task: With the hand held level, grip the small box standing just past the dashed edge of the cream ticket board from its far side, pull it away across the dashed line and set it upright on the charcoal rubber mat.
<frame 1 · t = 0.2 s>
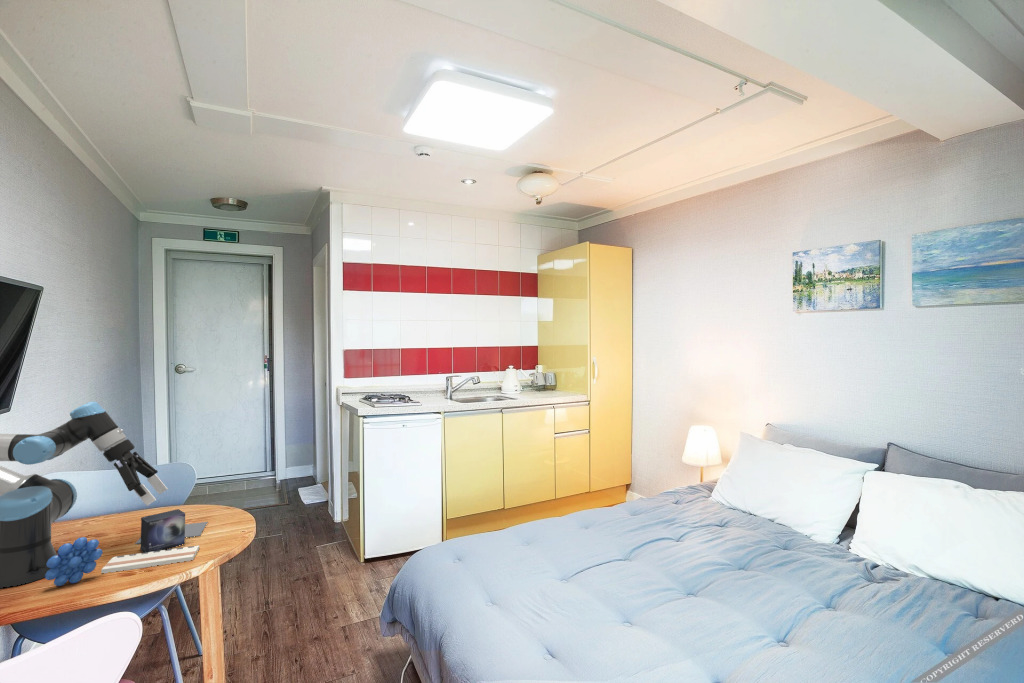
hand: (157, 497, 159), 15 cm above the table, tool tilted 35°, fingers open, 13 cm apart
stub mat: (173, 533, 167), on the table
small box: (162, 548, 155), on the table
blue bumpy cluster: (74, 582, 132), on the table
ticket board: (153, 560, 145), on the table
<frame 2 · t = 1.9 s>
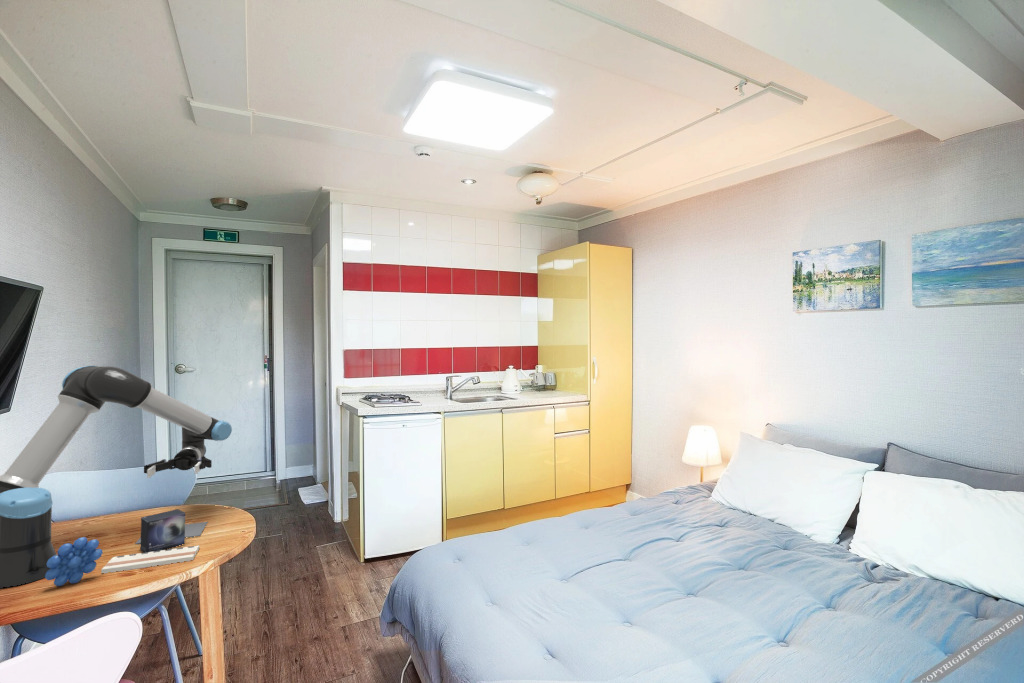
hand: (172, 471, 165), 22 cm above the table, tool horizontal, fingers open, 13 cm apart
nothing on the table moved.
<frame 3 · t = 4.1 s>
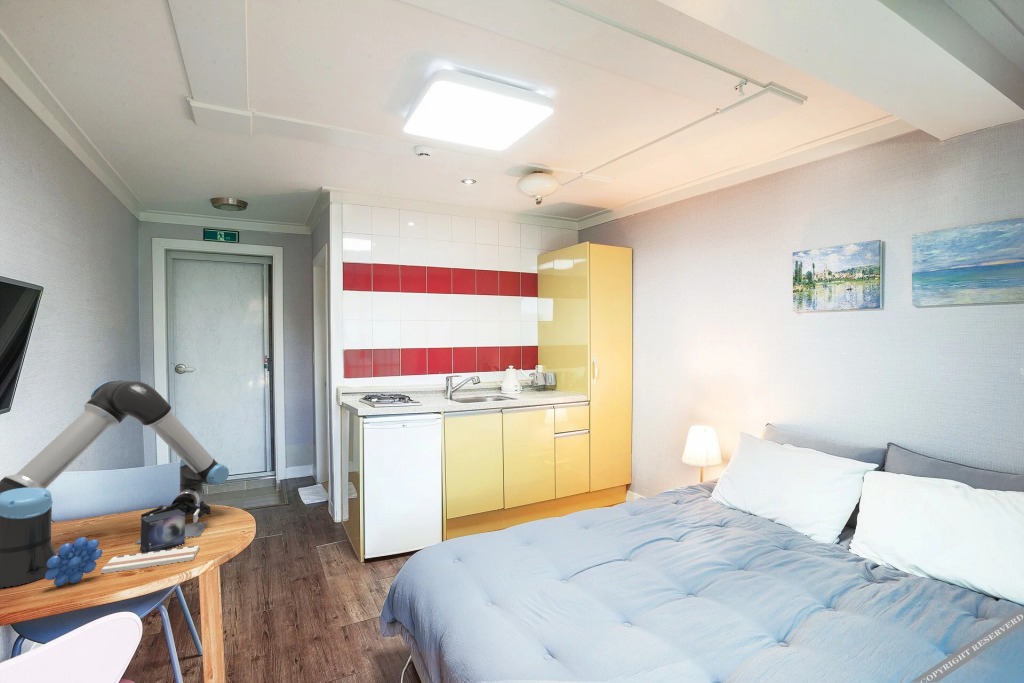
hand: (170, 521, 162), 6 cm above the table, tool horizontal, fingers open, 13 cm apart
nothing on the table moved.
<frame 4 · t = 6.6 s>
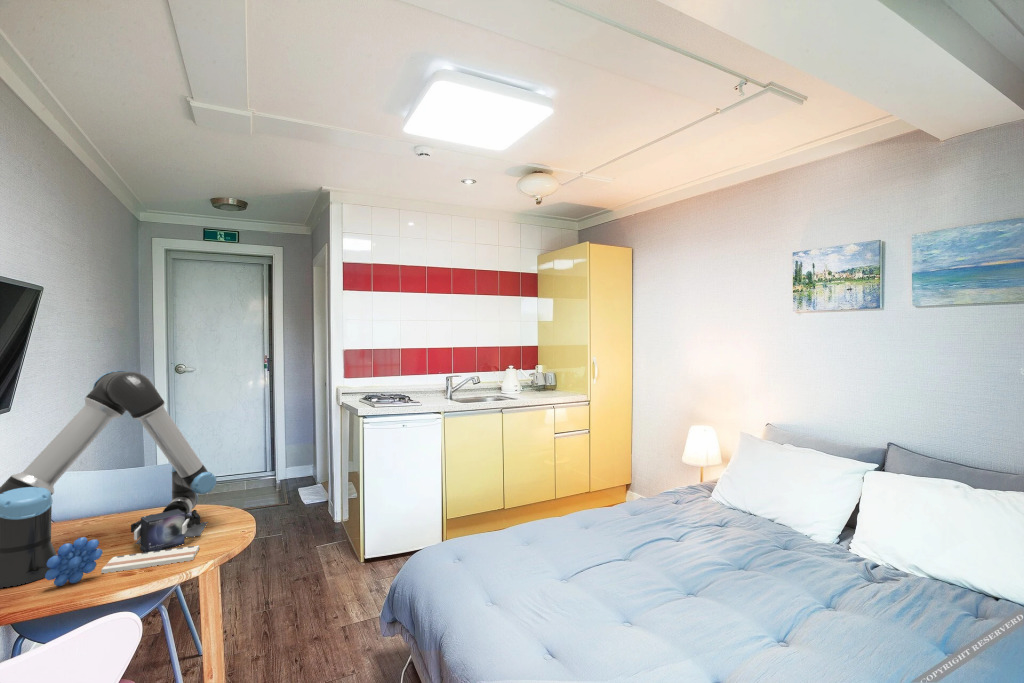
hand: (159, 532, 151), 6 cm above the table, tool horizontal, fingers closed on small box, 12 cm apart
small box: (162, 548, 155), on the table, touching gripper
everything else where it was.
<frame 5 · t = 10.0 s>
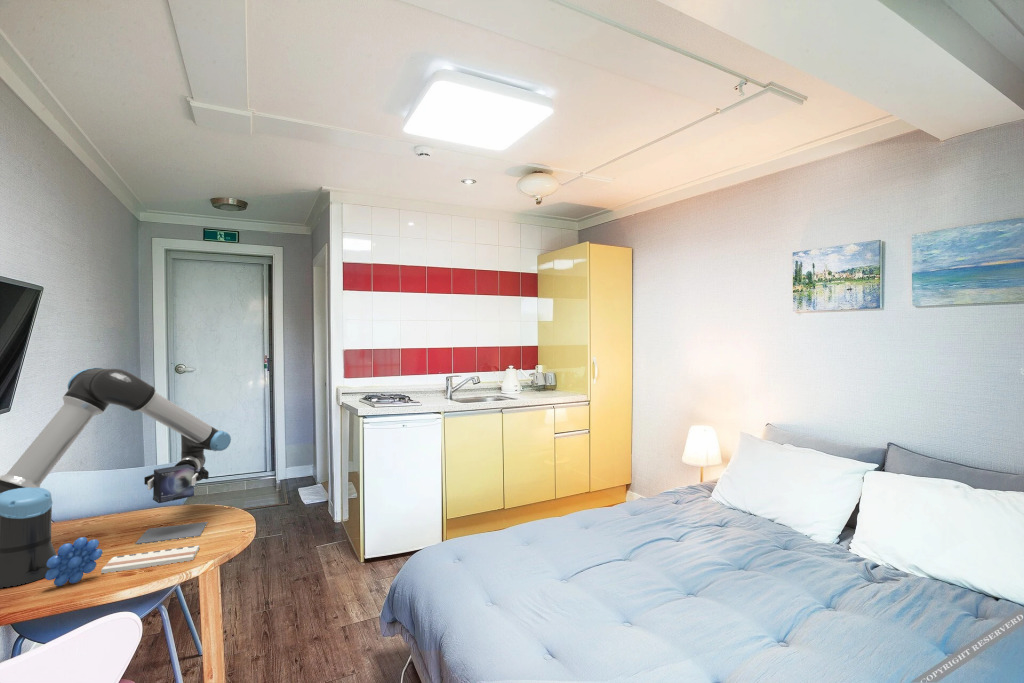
hand: (171, 483, 164), 18 cm above the table, tool horizontal, fingers closed on small box, 12 cm apart
small box: (173, 499, 167), point 12 cm above the table, touching gripper
everything else where it was.
when the fingers open (7 cm above the table, at t = 13.5 s): small box moves 1 cm, resting on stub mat.
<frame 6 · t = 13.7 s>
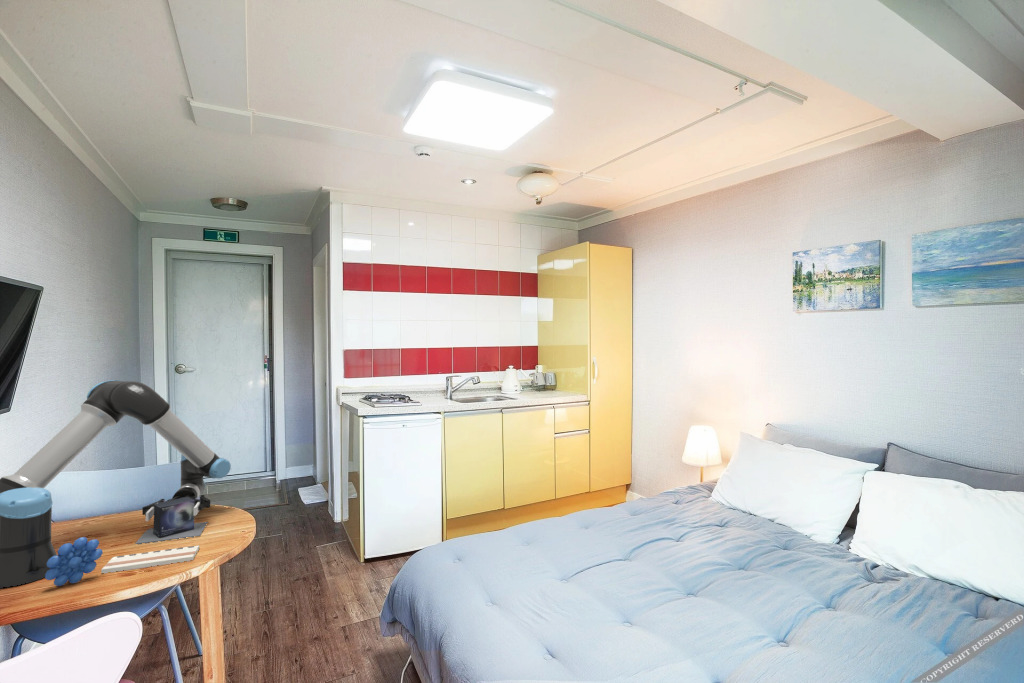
hand: (171, 514, 164), 7 cm above the table, tool horizontal, fingers open, 13 cm apart
small box: (174, 532, 167), resting on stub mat
everything else where it was.
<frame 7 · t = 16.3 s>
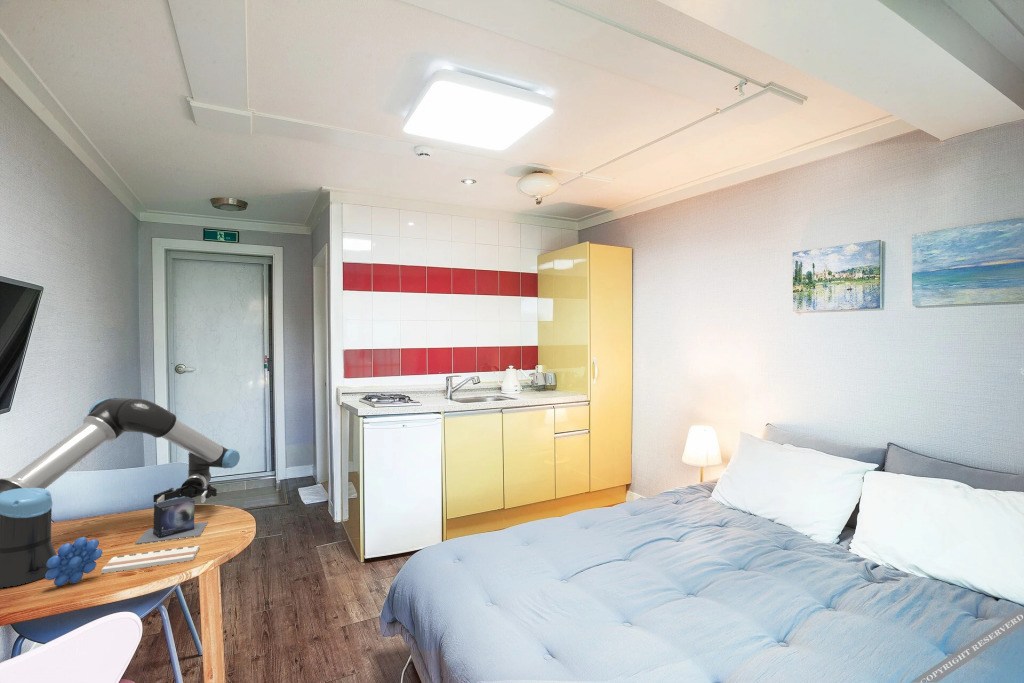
hand: (180, 501, 176), 8 cm above the table, tool horizontal, fingers open, 13 cm apart
nothing on the table moved.
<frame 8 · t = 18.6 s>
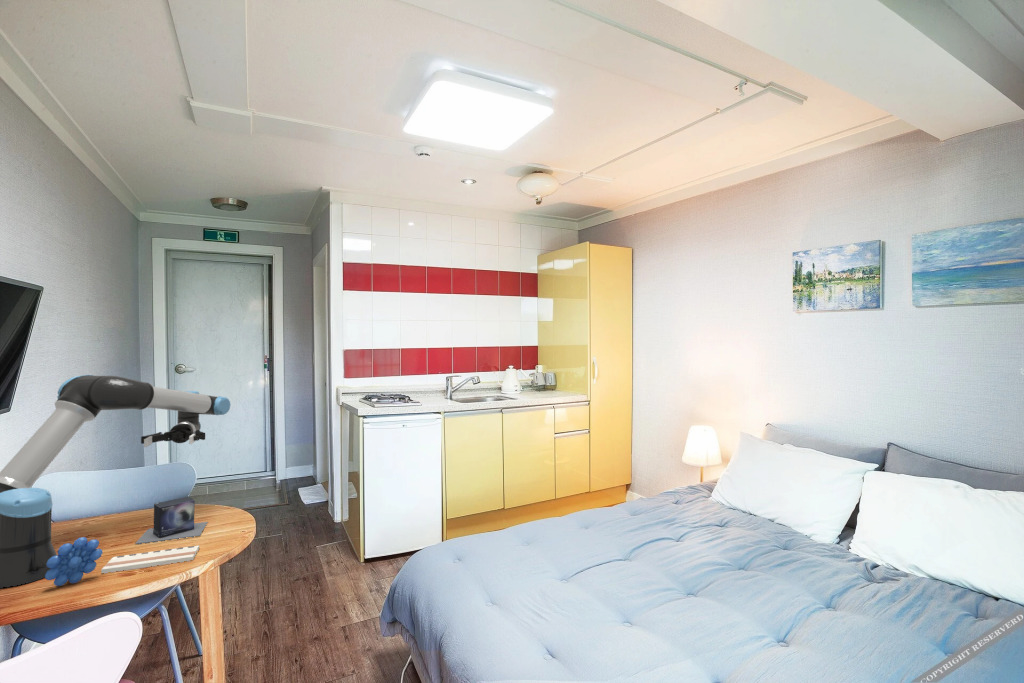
hand: (168, 441, 175), 30 cm above the table, tool horizontal, fingers open, 13 cm apart
nothing on the table moved.
at the end: small box inside the target area (0.1 cm from its centre), resting on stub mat; small box tilted 0°; the gripper is holding nothing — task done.
